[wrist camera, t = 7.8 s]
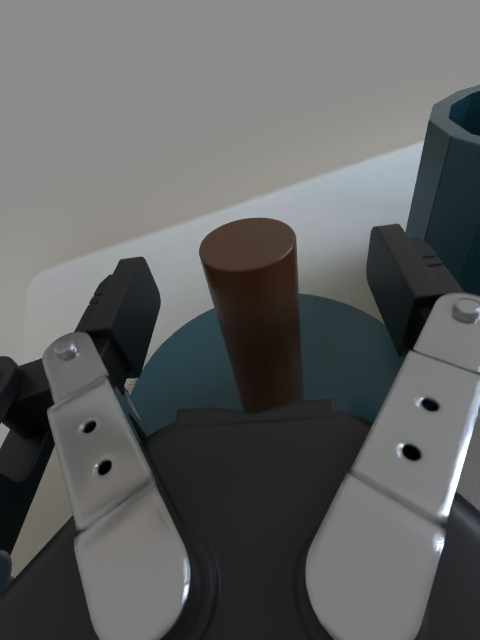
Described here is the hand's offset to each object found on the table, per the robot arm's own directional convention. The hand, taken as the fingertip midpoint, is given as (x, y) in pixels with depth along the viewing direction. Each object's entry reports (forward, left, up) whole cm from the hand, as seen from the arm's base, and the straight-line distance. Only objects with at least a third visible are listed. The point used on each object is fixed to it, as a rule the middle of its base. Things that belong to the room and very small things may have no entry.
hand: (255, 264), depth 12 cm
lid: (+1, +2, -5) cm, 6 cm away
